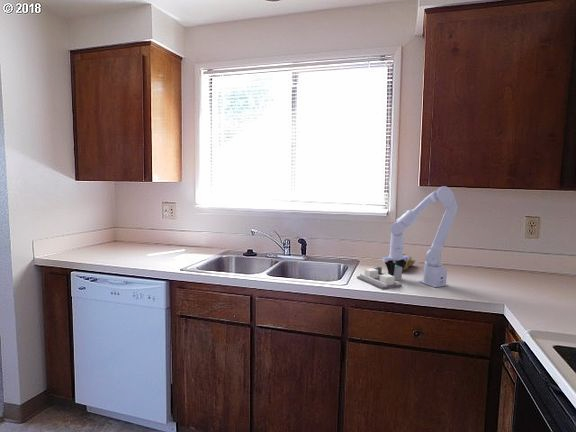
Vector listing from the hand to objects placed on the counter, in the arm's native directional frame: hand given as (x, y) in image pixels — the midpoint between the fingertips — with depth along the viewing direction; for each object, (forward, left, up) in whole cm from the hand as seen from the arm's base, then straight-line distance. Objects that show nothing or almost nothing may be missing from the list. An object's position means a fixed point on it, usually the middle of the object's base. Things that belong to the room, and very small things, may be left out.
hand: (394, 275), depth 174 cm
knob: (+11, +1, -2) cm, 11 cm away
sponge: (+15, -18, -2) cm, 23 cm away
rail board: (-2, +11, -1) cm, 11 cm away
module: (0, 0, -1) cm, 1 cm away
